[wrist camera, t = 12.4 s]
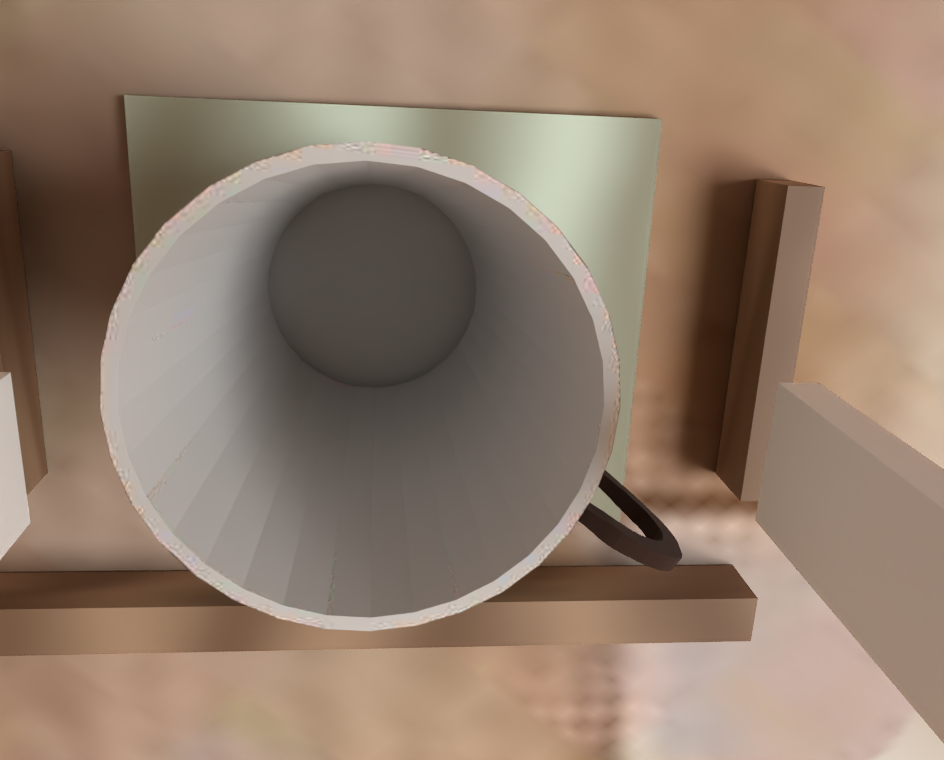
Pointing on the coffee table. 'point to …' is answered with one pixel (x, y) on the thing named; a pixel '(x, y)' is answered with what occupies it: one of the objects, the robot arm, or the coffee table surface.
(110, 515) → the coffee table surface
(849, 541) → the robot arm
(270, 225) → the coffee mug
